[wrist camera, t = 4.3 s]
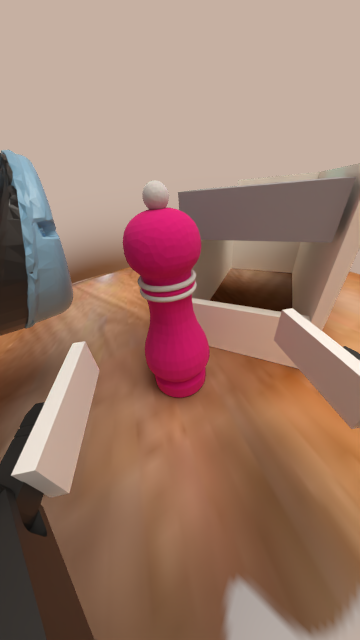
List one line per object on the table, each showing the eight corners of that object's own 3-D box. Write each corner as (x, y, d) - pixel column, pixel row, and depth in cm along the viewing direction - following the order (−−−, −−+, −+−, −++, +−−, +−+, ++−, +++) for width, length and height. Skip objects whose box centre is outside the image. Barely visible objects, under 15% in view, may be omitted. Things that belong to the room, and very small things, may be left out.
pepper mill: (174, 348, 28) (150, 183, 16) (219, 367, 24) (228, 172, 13) (140, 383, 23) (73, 189, 12) (189, 414, 20) (160, 174, 8)
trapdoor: (181, 239, 21) (178, 192, 19) (228, 212, 37) (230, 185, 34) (332, 242, 16) (356, 176, 13) (311, 210, 31) (320, 177, 29)
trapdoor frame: (173, 336, 30) (153, 184, 19) (225, 266, 54) (231, 181, 43) (309, 371, 23) (414, 155, 11) (300, 272, 47) (330, 171, 36)
